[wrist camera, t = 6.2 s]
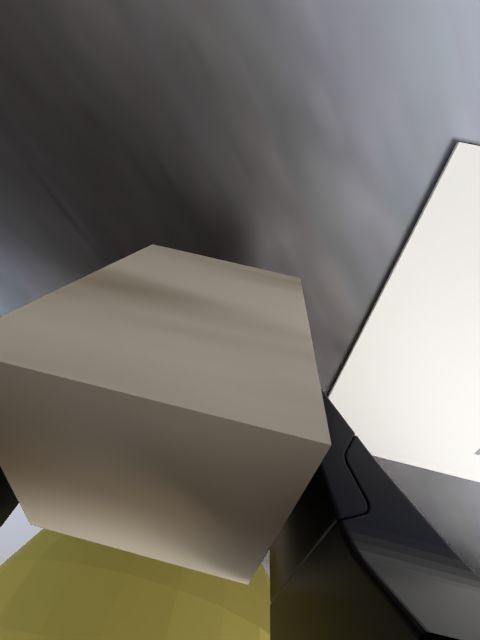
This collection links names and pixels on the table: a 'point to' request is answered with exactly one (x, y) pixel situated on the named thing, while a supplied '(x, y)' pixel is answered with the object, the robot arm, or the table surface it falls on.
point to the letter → (425, 338)
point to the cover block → (164, 409)
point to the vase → (122, 596)
